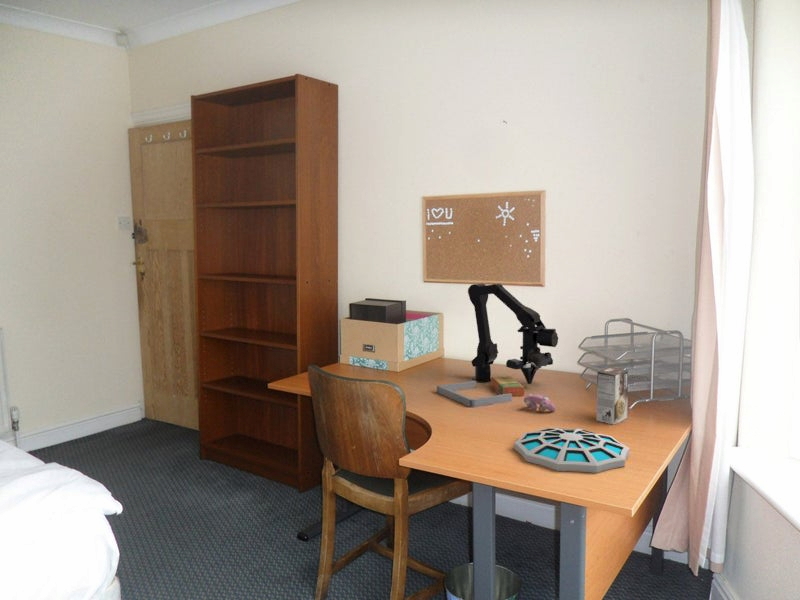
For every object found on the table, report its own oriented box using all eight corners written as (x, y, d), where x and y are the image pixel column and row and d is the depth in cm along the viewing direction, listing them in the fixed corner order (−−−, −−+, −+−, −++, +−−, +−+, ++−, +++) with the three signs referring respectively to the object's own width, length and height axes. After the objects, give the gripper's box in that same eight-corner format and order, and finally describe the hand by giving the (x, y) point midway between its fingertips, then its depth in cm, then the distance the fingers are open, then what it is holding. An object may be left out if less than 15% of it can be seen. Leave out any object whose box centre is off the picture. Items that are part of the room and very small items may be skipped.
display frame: (436, 392, 233) (436, 385, 232) (474, 386, 241) (474, 380, 240) (471, 407, 212) (471, 400, 212) (511, 400, 220) (511, 394, 220)
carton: (511, 386, 242) (511, 375, 242) (524, 397, 226) (525, 386, 226) (490, 387, 241) (490, 376, 240) (502, 398, 225) (503, 386, 225)
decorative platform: (493, 453, 169) (493, 435, 169) (550, 428, 190) (550, 413, 189) (596, 484, 148) (597, 464, 147) (649, 453, 168) (649, 435, 167)
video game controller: (525, 412, 211) (520, 396, 208) (531, 404, 214) (526, 388, 211) (551, 418, 204) (546, 401, 201) (557, 409, 207) (553, 393, 204)
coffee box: (608, 414, 202) (610, 366, 201) (627, 418, 198) (629, 369, 196) (595, 420, 196) (596, 371, 194) (614, 425, 191) (615, 374, 190)
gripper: (524, 350, 225) (523, 391, 227) (563, 345, 234) (562, 385, 235) (505, 345, 235) (505, 385, 237) (543, 340, 243) (542, 379, 245)
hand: (529, 383), depth 238 cm, fingers closed
